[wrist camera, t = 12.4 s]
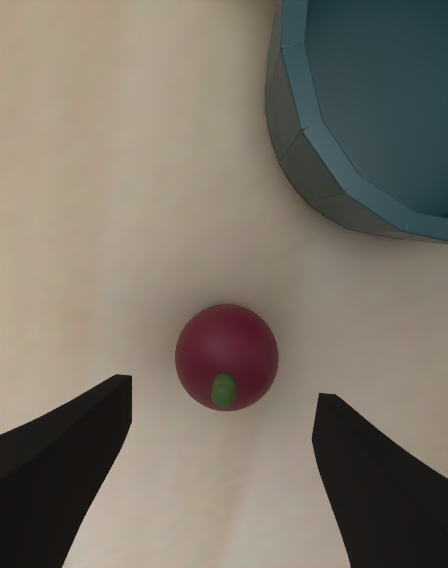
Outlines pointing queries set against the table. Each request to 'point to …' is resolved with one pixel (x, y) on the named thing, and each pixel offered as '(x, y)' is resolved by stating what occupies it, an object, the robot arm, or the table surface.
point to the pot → (364, 111)
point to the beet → (226, 357)
